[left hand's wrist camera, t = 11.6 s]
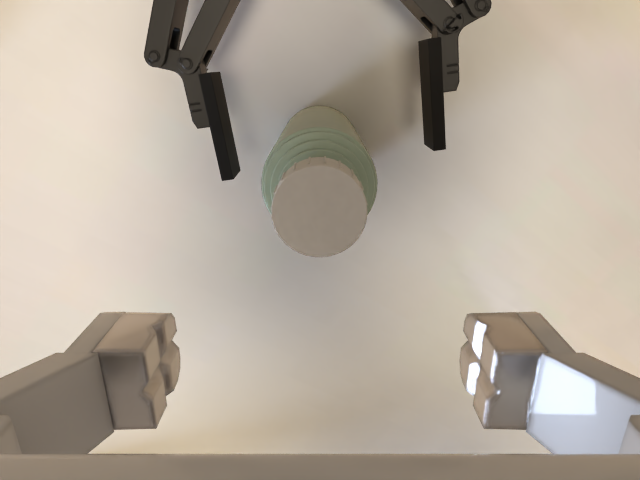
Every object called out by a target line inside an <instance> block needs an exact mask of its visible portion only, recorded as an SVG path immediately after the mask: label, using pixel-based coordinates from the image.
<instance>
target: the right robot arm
mask: <svg viewBox="0 0 640 480" xmlns="http://www.w3.org/2000/svg"><path fill="white" fill-rule="evenodd" d="M400 1H401V2H402V3H403V4H404V5H405V6H406V7H407V8H408V9H409V10H410V12H411V13H412V14H413V15H414V16H415V17H416V18H417V19H418V20H419V21H420V22H421V23H422V24H423V25H424V26H425V27H426V29H427V30H428V31H429V32H430V33H431V34H432V38H431V39H426V40H422V41H419V42H418V43H419V60H420V78H421V95H422V112H423V129H424V144H425V145H426V146H428V147H429V148H430V149H432V150H433V151H437V150H444V149H446V143H445V119H444V95H443V92H449V91H456V90H457V87H458V84H459V56H458V36H459V33H460V31H461V30H462V29H463V27H465V26H466V25H468V24H469V23H471V22H473V21H475V20H477V19H478V18H480V17H483V16H485V15H486V14H487V13H488V12H489V11H490V8H491V0H451V2H452V4H453V6H454V7H453V8H451V7H450V6H449V4H448V3H447V2H446V1H445V0H400ZM188 2H189V0H154V1H153V6H152V12H151V18H150V23H149V29H148V34H147V40H146V46H145V51H144V58H145V60H146V62H147V63H148V65H150V66H152V67H158V68H162V69H167V70H171V71H174V72H176V73H178V74H179V75H180V76H181V78H182V80H183V83H184V87H185V91H186V95H187V100H188V104H189V108H190V111H191V116H192V121H193V122H194V124H195V126H196V127H197V129H199V128H206V127H210V129H211V134H212V138H213V143H214V147H215V152H216V156H217V161H218V165H219V169H220V174H221V178H222V181H224V180H231V179H234V178H235V177H236V175H237V174H238V173H239V171H240V166H239V161H238V156H237V152H236V147H235V142H234V137H233V132H232V128H231V123H230V118H229V113H228V108H227V103H226V99H225V94H224V89H223V84H222V79H221V75H220V72H210V73H207V70H208V69H207V66H208V64H209V62H210V60H211V58H212V56H213V54H214V52H215V50H216V48H217V46H218V44H219V42H220V40H221V38H222V36H223V34H224V32H225V30H226V28H227V26H228V24H229V22H230V20H231V18H232V16H233V14H234V12H235V10H236V8H237V6H238V4H239V2H240V0H205V2H204V4H203V6H202V8H201V10H200V12H199V14H198V16H197V18H196V20H195V23H194V25H193V27H192V29H191V31H190V33H189V35H188V37H187V39H186V41H185V43H184V46H183V48H182V50H179V46H180V41H181V36H182V31H183V27H184V22H185V17H186V12H187V7H188Z"/></svg>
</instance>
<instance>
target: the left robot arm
mask: <svg viewBox="0 0 640 480" xmlns="http://www.w3.org/2000/svg"><path fill="white" fill-rule="evenodd" d="M176 331H177V329H176V323H175V317H174V316H173V315H172V313H140V312H127V313H126V312H104V313H100V314H99V315H98V316H97V317H96V318H95V319H94V320H93V321H92V323H91V324H90V325H89V326H88V327H87V328H86V329H85V330H84V331H83V332H82V333H81V335H80V336H79V337H78V338H77V339H76V340H75V341H74V342H73V343H72V344H71V346H70V347H69V348H68V349H67V350H66V351H65V352H64V353H55V354H53V355H51V356H48V357H46V358H44V359H42V360H39V361H37V362H35V363H33V364H31V365H28V366H26V367H24V368H22V369H20V370H17V371H15V372H13V373H11V374H8V375H6V376H4V377H2V378H0V480H640V378H638V377H636V376H634V375H631V374H629V373H627V372H625V371H623V370H620V369H618V368H616V367H614V366H612V365H609V364H607V363H605V362H603V361H601V360H598V359H596V358H594V357H592V356H589V355H587V354H585V353H576V352H575V351H574V350H573V349H572V348H571V347H570V346H569V344H568V343H567V342H566V341H565V340H564V339H563V338H562V337H561V336H560V335H559V333H558V332H557V331H556V330H555V329H554V328H553V327H552V326H551V325H550V324H549V323H548V321H547V320H546V319H545V318H544V317H543V316H542V315H541V314H540V313H537V312H508V313H471V314H467V316H466V318H465V322H464V328H463V331H464V333H465V335H466V337H467V339H468V341H467V342H466V343H465V344H464V345H463V346H462V347H461V352H460V374H461V377H462V381H463V384H464V386H465V389H466V391H468V392H469V393H470V394H472V395H473V396H474V402H473V406H474V409H475V411H476V413H477V415H478V417H479V419H480V421H481V424H482V426H483V428H484V429H519V430H526V432H527V433H528V434H530V435H531V436H532V437H533V438H534V439H536V440H537V441H538V442H539V443H540V444H542V445H543V446H544V447H545V448H547V449H548V450H549V451H550V452H551V453H553V454H88V453H89V452H90V451H91V450H92V449H94V448H95V447H96V446H97V445H99V444H100V443H101V442H102V441H103V440H105V439H106V438H107V437H108V436H109V435H111V434H112V433H113V432H114V430H121V429H156V428H157V426H158V424H159V421H160V419H161V417H162V415H163V413H164V411H165V409H166V406H167V402H166V396H167V395H168V394H170V393H171V392H172V391H174V389H175V386H176V384H177V382H178V377H179V372H180V351H179V347H178V346H177V345H176V344H175V343H174V342H173V341H172V339H173V337H174V335H175V333H176Z"/></svg>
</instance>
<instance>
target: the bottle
mask: <svg viewBox="0 0 640 480" xmlns="http://www.w3.org/2000/svg"><path fill="white" fill-rule="evenodd" d="M324 156H326V158H331V159H334V160H337V161H339V160H340V161H341V163H343V164H344V165H346V166H347V167H348V168H349V169H350V170H351V169H352V170H353V172H354V174H355V175H356V177H357V178H358V180H359V181H361V183H362V186H363V189H364V190H363V193H364V195H365V198H366V200H367V203H368V205H367V215H368V213H369V212H370V210H371V208H372V206H373V204H374V200H375V197H376V192H377V174H376V170H375V166H374V164H373V161H372V159H371V157H370V155H369V153H368V152H367V150H366V148H365V147H364V145H363V143H362V141H361V140H360V138H359V136H358V135H357V133H356V131H355V129H354V128H353V126H352V124H351V123H350V121H349V120H348V119H347V118H346V117H345V116H344V115H343V114H342V113H341V112H339V111H337V110H336V109H333V108H330V107H327V106H312V107H308V108H305V109H303V110H301V111H300V112H298V113H297V114H295V115H294V116H293V117H292V118H291V119H290V121H289V122H288V124H287V125H286V127H285V129H284V131H283V132H282V134H281V136H280V137H279V139H278V141H277V142H276V144H275V146H274V148H273V149H272V151H271V153H270V154H269V156H268V158H267V160H266V163H265V165H264V168H263V173H262V180H261V186H262V194H263V199H264V202H265V204H266V207H267V209H268V211H269V212H270V214H271V205H272V201H273V197H274V194H273V193H274V190H275V187H276V185H278V183H279V181H280V179H281V178H282V175H283V173H284V172H286V171H287V170H288V169H289V168H290V167H292V166H293V165H294V163H295V162H296V163H298V162H299V161H302V160H304V159H308V158H309V157H311V158H313V157H324Z"/></svg>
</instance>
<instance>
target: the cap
mask: <svg viewBox="0 0 640 480" xmlns="http://www.w3.org/2000/svg"><path fill="white" fill-rule="evenodd" d="M363 190H364V189H363V186H362V183H361V181H359V180H358V178H357V177H356V175H355V174H354V172H353V170H352V169H351V170H350V169H349V168H348V167H347V166H346V165H344V164H343V163H341V161H340V160H339V161H337V160H334V159H331V158H326V156H324V157H313V158H311V157H309V158H308V159H304V160H302V161H299V162H298V163H296V162H295V163H294V165H293V166H292V167H290V168H289V169H288V170H287V171H286V172H284V173H283V175H282V178H281V179H280V181H279V183H278V185H276V187H275V190H274V193H273V194H274V197H273V201H272V205H271V216H272V222H273V225H274V228H275V230H276V232H277V234H278V235H279V237H280V238H281V239H282V241H283V242H284V243H285V244H286V245H287V246H289V247H290V248H291V249H293V250H295V251H296V252H298V253H301V254H303V255H307V256H312V257H327V256H332V255H335V254H338V253H340V252H342V251H344V250H346V249H347V248H349V247H350V246H351V245H352V244H353V243H354V242H355V241H356V240H357V239H358V238H359V236H360V235H361V233H362V231H363V229H364V227H365V224H366V219H367V205H368V203H367V200H366V198H365V195H364V193H363Z"/></svg>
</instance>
